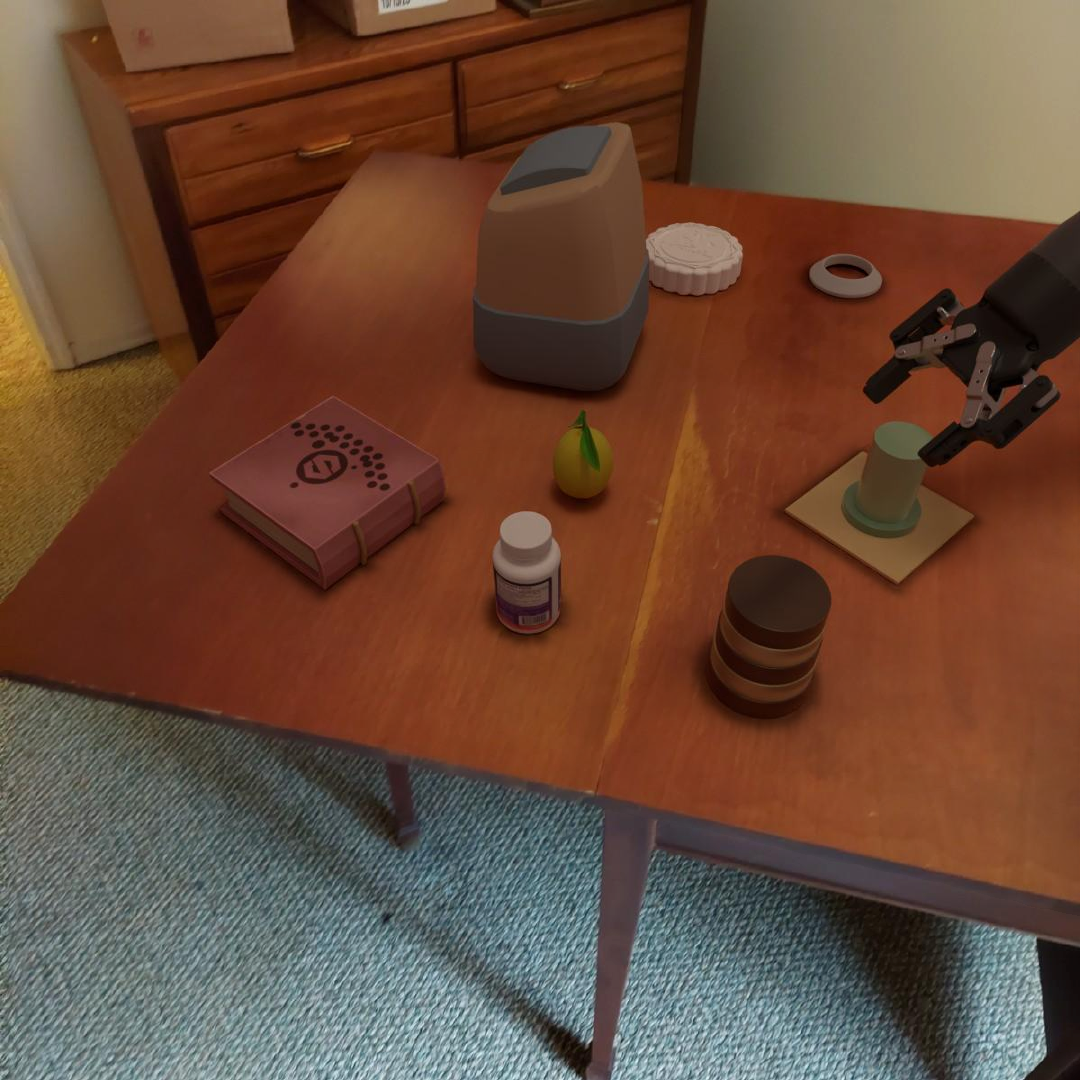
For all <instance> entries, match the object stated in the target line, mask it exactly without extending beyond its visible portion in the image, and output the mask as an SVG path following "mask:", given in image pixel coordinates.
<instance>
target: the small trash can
mask: <svg viewBox="0 0 1080 1080" xmlns="http://www.w3.org/2000/svg"><path fill="white" fill-rule="evenodd" d="M638 162H639V161H638V157H637V152H636V149H635V143H634V138H633V133H632V129H631V127H630V125H629V124H626V123H623V122H618V121H614V122H608V123H601V124H598V125H580V126H573V127H567V128H563V129H560V130H557V131H554V132H551V133H549V134H546V135H545V136H542V137H541V138H538V139H536V140H535V141H534V142H532V143H531V144H529V145H527V146H526V147H525V149H524V150H523V152H522V154H521V155H519V157H517V159H516V160H515V161H514V163H513V165H512V166H511V167H510V168H509V170H508V172H507V173H506V175H504V178H503V179H502V181H501V182H500V184H499V185H498V186H497V188H496V189H495V191H494V192H493V193H492V195H491V196H490V198H489V200H487V203H486V205H485V209H484V212H483V214H482V217H481V220H480V226H479V230H478V236H477V237H478V239H477V250H476V252H477V254H476V281H475V282H476V283H475V285H474V288H473V295H472V309H473V310H472V316H473V317H472V318H473V321H472V323H473V325H472V326H473V328H472V329H473V348H474V350H475V351H476V354H477V356H478V358H479V361H481V363H483V364H484V365H485V367H486V368H487V369H488V370H490V371H491V372H493V373H494V374H495V375H498V376H500V377H503V378H506V379H508V380H513V381H521V382H526V383H531V384H538V385H542V386H543V385H544V386H551V387H556V388H563V389H568V390H574V391H579V392H598V391H601V390H605V389H607V388H610V387H612V386H613V385H615V384H616V383H617V382H618V381H619V380H620V379H621V378H622V377H623V376H624V375H625V374H626V371H627V368H628V366H629V363H630V362H631V358H632V356H633V353H634V351H635V349H636V345H637V343H638V340H639V338H640V335H641V332H642V329H643V327H644V324H645V322H646V319H647V316H648V314H649V309H650V308H649V307H650V306H649V305H650V281H649V251H648V249H647V247H646V239H647V235H646V222H645V221H646V220H645V209H644V208H645V207H644V194H643V184H642V177H641V173H640V167H639V163H638Z"/></svg>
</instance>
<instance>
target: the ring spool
mask: <svg viewBox="0 0 1080 1080" xmlns="http://www.w3.org/2000/svg"><path fill="white" fill-rule="evenodd" d="M933 438H934V437H933V436H932V434H931V433H930V432H929V431H928V430H926V429H925V428H924V427H922V426H919V425H918V424H915V423H911V422H908V421H901V420H895V421H894V420H893V421H888V422H885V423H882V424H880V425H879V426H878V427H877V428H876V429H875V430H874V433H873V436H872V439H871V443H870V446H869V449H868V452H867V454H868V455H867V458H866V461H865V464H864V467H863V471H862V474H861V477H860V480H859V481H857V482H855V483H853V484H852V485H850V486H849V487H848V488H847V490H846V491H845V493H844V497H843V500H842V505H841V507H842V512H843V514H844V516H845V518H846V519H847V521H848V522H849V523H850V524H851V525H852V526H853V527H855V528H856V529H858V530H860V531H861V532H863V533H866V534H868V535H871V536H875V537H879V538H898V537H902V536H905V535H907V534H909V533H910V532H912V531H913V530H914V529H915V528H916V526H917V524H918V521H919V519H920V516H921V505H920V503H919V501H918V499H917V498H916V497H917V494H918V492H919V489H920V486H921V485H923V481H924V478H925V477H926V473H927V471H928V469H929V466H928V465H927V464H926V463H925V462H924V461H923V460H922V459H921V458H920V457H919V456H918V451H919V450H920V449H921V448H922V447H923V446H925V445H926V444H927V443H928V442H929V441H931V440H932V439H933Z"/></svg>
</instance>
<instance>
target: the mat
mask: <svg viewBox="0 0 1080 1080" xmlns="http://www.w3.org/2000/svg"><path fill="white" fill-rule="evenodd" d="M867 455H868V452H865V451H864V450H862V451H861V452H859V453H858V454H856V455H855V456H854V457H853V458H851V459H850V460H848V461H847V462H846V463H844V464H843V465H842V466H840V467H839V468H838V469H837V470H834V472H833V473H831V474H830V475H828V476H827V477H826V478H825V479H823V480H822V481H821V482H819V483H818V484H817V485H815V486H814V487H812V488H811V489H810V490H809V491H808V492H806V493H804V494H803V495H802V496H801V497H799V498H798V499H796V501H794V502H793V503H791V504H790V505H789V506H787V507H786V508H785V509H784V513H785V514H787V515H788V516H790V517H791V518H793V519H794V520H796V521H797V522H798V523H801V524H802V525H803V526H805V527H806V528H808V529H809V530H811V531H812V532H814V533H816V534H817V535H819V536H820V537H822V538H824V539H825V540H827V541H828V542H830V543H832V544H833V546H836V547H838V548H839V549H840V550H842V551H844V552H845V553H847V554H848V555H849V556H851V557H852V558H854V559H856V560H857V561H859V562H860V563H862V564H863V565H865V566H866V567H868V568H869V569H871V570H873V571H874V572H876V573H877V574H879V575H880V576H882V577H883V578H885V579H887V580H888V581H889V582H891V583H893V584H894V585H895V586H898V585H899V584H900V583H902V582H903V581H904V580H905V579H906V578H907V577H908V576H909V575H911V574H912V573H913V572H914V571H915V570H916V569H918V567H920V566H921V565H922V564H923V563H924V562H925V561H926V560H927V559H929V558H930V557H931V556H932V555H934V553H936V552H937V550H940V548H941V547H943V546H944V545H945V544H946V543H947V542H948V541H949V540H950V539H951V538H952V537H953V536H955V535H956V534H957V533H958V532H959V531H961V529H963V528H964V527H965V526H966V525H967V524H968V523H969V522H971V521H972V520H973V519H974V517H975V515H974V514H973V513H971V512H970V511H968V510H966V509H964V508H962V507H961V506H959V505H958V504H955V503H953V501H950V500H949V499H947V498H945V497H943V496H942V495H940V494H938V493H936V492H935V491H933V490H931V489H929V488H928V487H926V486H924V485H923V484H921V486H920V489H919V492H918V494H917V497H916V498H917V499H918V501H919V503H920V505H921V516H920V519H919V521H918V524H917V526H916V528H915V529H914V530H913V531H912V532H910V533H909V534H907V535H905V536H902V537H898V538H879V537H875V536H871V535H868V534H866V533H863V532H861V531H860V530H858V529H856V528H855V527H853V526H852V525H851V524H850V523H849V522H848V521H847V519H846V518H845V516H844V514H843V512H842V507H841V505H842V500H843V497H844V493H845V491H846V490H847V488H848V487H849V486H850V485H852V484H853V483H855V482H857V481H859V480H860V477H861V474H862V471H863V467H864V464H865V461H866V458H867Z"/></svg>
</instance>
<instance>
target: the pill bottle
mask: <svg viewBox="0 0 1080 1080" xmlns="http://www.w3.org/2000/svg"><path fill="white" fill-rule="evenodd" d="M561 554H562V553H561V548H560V546H559V544H558V542H557V541H556V539H555V538H554V537H553V528H552V524H551V522H550V520H549V519H548V518H547V517H546V516H544V515H543V514H541V513H539V512H535V511H527V510H525V511H523V510H522V511H518V512H514V513H512V514H509V515H508V516H507V517H506V518H504V519H503V521H502V522H501V524H500V527H499V539H498V541H497V542H496V544H495V545H494V547H493V551H492V570H493V580H494V581H493V582H494V597H495V609H496V615H497V617H498V619H499V621H500V623H502V625H504V627H506V628H507V629H509V630H510V631H512V632H516V633H519V634H526V635H527V634H528V635H530V634H531V635H532V634H537V633H538V634H539V633H541V632H544V631H546V630H548V629H549V628H550V627H551V626H553V625H554V624H555V622H556V621H557V620H558V619H559V616H560V614H561V610H562V609H561V608H562V555H561Z"/></svg>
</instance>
